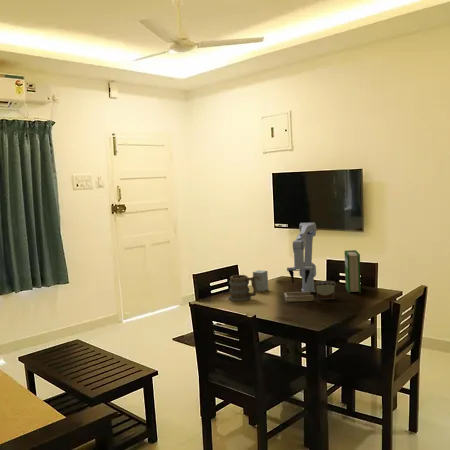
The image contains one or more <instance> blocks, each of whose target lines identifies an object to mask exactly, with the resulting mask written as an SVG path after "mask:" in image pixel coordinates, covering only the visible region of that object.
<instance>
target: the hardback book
mask: <svg viewBox="0 0 450 450" xmlns="http://www.w3.org/2000/svg"><path fill="white" fill-rule="evenodd" d="M344 277H345V278H344V279H345V289H346V291H347V293H348V294H350V293H351V292H352V293H354V292H355V293H356V292H357V293H359V294H361V293H362V290H361V289H362V283H361V254H360V253H359V252H358V250H356V249H355V250H353V249H352V250H344Z"/></svg>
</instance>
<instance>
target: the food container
mask: <svg viewBox="0 0 450 450" xmlns="http://www.w3.org/2000/svg"><path fill="white" fill-rule="evenodd" d="M336 286H337V284H336V282H335V281H333V280H318V281H316V282H314V287H315V289H316V290H315V291H316V295H317V300H334V299H335V288H336Z"/></svg>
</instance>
